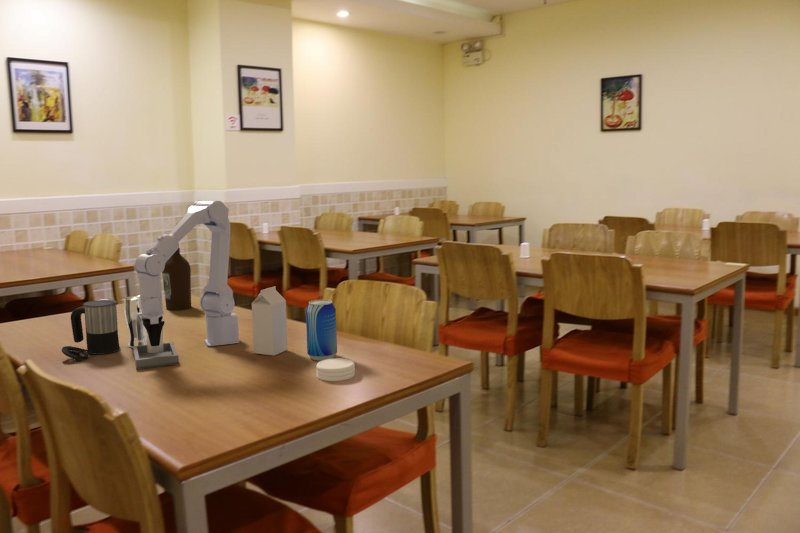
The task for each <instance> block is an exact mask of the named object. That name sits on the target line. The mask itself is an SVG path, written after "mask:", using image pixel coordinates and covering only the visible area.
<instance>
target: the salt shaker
mask: <svg viewBox="0 0 800 533" xmlns="http://www.w3.org/2000/svg"><path fill="white" fill-rule="evenodd" d="M146 334H147V352H148V353H159V352H163V351H164V346H163V343H164V327H163V328H162V331H161V337H160V344H159V346H151V344H150V340H149V336H148V333H147V330H146Z"/></svg>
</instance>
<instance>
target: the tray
mask: <svg viewBox="0 0 800 533" xmlns="http://www.w3.org/2000/svg"><path fill="white" fill-rule="evenodd" d="M163 346H164V351H163V352H159V353H148V352H147V345H141V346H133V348H132V349H133V351H132V352H133V358H134V364H135V369H136V370H143V369H144V370H146V369H152V368H161V367H168V366H177V365H179V364H180V363H179V360H180V359H179V353H178V351H177V349H176V346H175V344H174V341H171V342H170V341H169V342H163Z"/></svg>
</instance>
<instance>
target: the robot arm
mask: <svg viewBox="0 0 800 533" xmlns="http://www.w3.org/2000/svg"><path fill="white" fill-rule="evenodd" d="M229 211H230V210H229V208H228V207H227V205H226V204H225V203H224V202H222V201H221V200H202V199H201V200H200V199H199V200H196V201H195V202H193V203H192V205H190V206H189V207H188V208H187V211H186V213H185V215H184V216H182V219H180V221H179V222H178V223H177V224H176V225H175V226H174V228H173V229H172V230H171V231H170V232H169V234H167V233H166V234H162V235H158V237H157V238H156V241H155V242H154V243H153V244H152V245H151V246H150V248H146V250H145V253H142V254H140V255H138V256H137V257H136V260H135V261H134V264H133V269H134V271H135V272H136V273H137V276H138V277H137V278H138V284H139V296H140V298H141V312H140V313H137V316H142V317H145V318H142V321H143V325H144V327H145V328H146V330H147V333H148V336H149V340H150V344H151V346H159V344H160V337H161V331H162V328H163V329H164V326H165V320H163V315H164V313H165V312H164V306H163V305H164V304H163V291H162V276H161V274H162V272H163V270H164V268H165V263H166V261H167V260H168V259H169V258H170V257H171V256H172V255H173V254H174V253H175V252H176V251H177V249H178V248H180V244H179V243H180V241H182V240H183V239H184V238H185V236H187V235H188V234H189V233H190V232H191V231H192V230H193V229H194V228H195V227H197V226H198V225H204V226H206V227H207V228H208V229H209V231H210V232H211V240H210V242H211V243H210V256H209V257H210V259H209V274H208V275H209V276H208V283H207V284H206V286H204V287H203V289H202V290H203V292H202V295H201V297H200V299H199V306H200V308H201V310H203V312H204V315H205V323H206V326H205V327H206V338H205V339H204V342H205V344H206V345H207V347H215V346H222V345H223V346H224V345H232V344H240V338H239V337H240V336H239V335H240V333H239V317H238V314H237V313H236V312H233V311H234V309H235V299H234V291H233V289H232V288H231V287H230V286H229V284H228V277H229V261H230V260H229V259H230V249H231V248H230V246H231V245H230V244H231V243H230V242H231V232H232V231H231V230H232V228H231V227H232V226H231V223H230V220H229Z"/></svg>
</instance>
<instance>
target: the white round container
mask: <svg viewBox="0 0 800 533" xmlns="http://www.w3.org/2000/svg"><path fill="white" fill-rule="evenodd" d="M315 367H316V368H315V369H316V371H315V372H316V375H315V376H316V378H317V379H318V380H320V381H323V382H324V381H325V382H341V381H342V382H343V381H347V380H350V379H352V378H354V376H355V374H356V372H355V370H356V368H355V367H356V366H355V362H354V361H353V360H351V359H348V358H340V357H338V358H337V357H336V358H335V357H334V358H332V359H326V360H319V361H318V362H317V364H316V366H315Z"/></svg>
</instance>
